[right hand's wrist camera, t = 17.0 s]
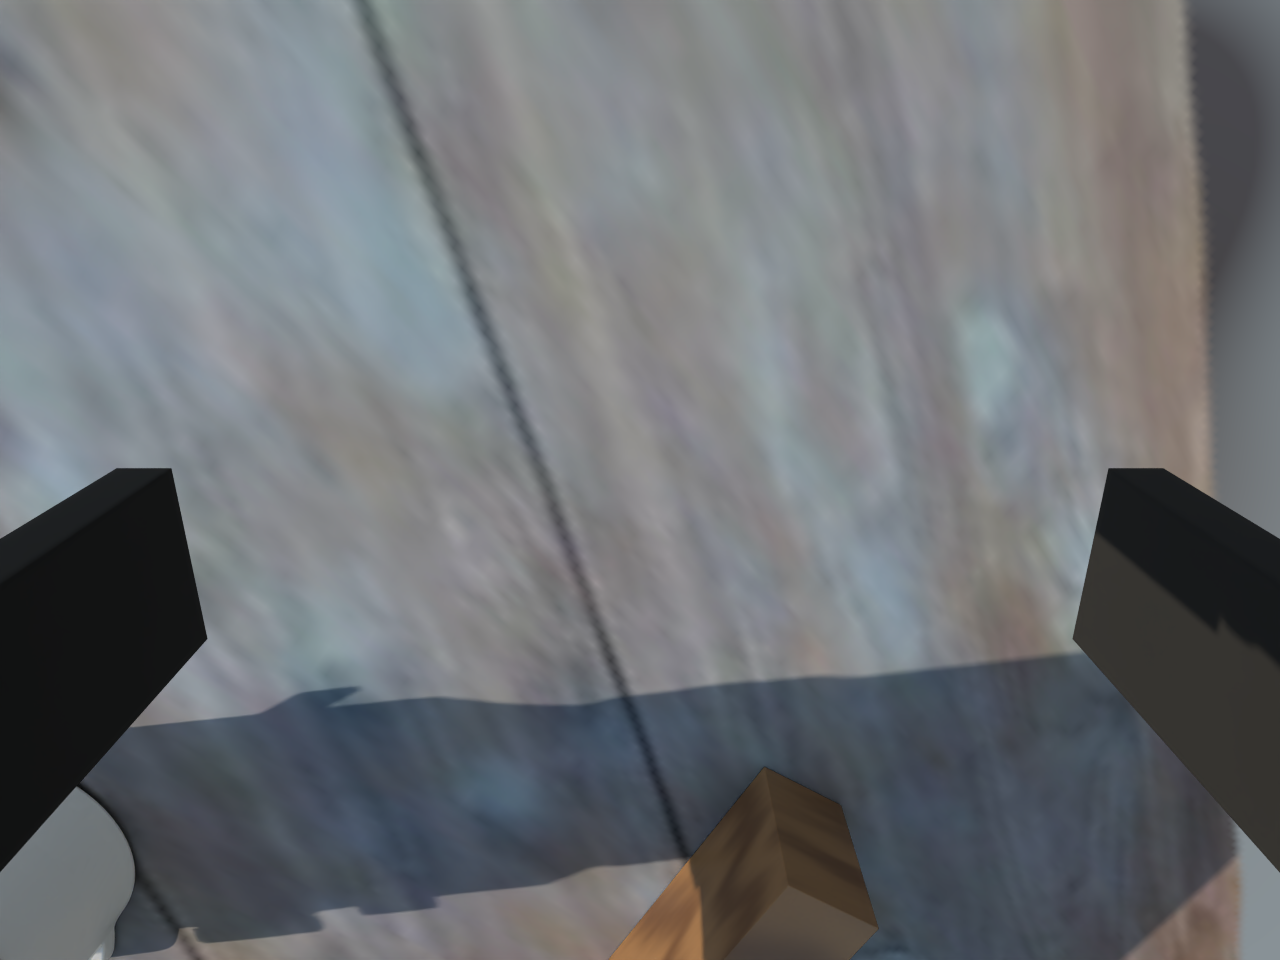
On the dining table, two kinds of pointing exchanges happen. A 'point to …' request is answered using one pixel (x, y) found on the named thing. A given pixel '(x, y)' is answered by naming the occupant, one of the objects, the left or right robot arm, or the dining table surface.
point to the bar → (763, 886)
